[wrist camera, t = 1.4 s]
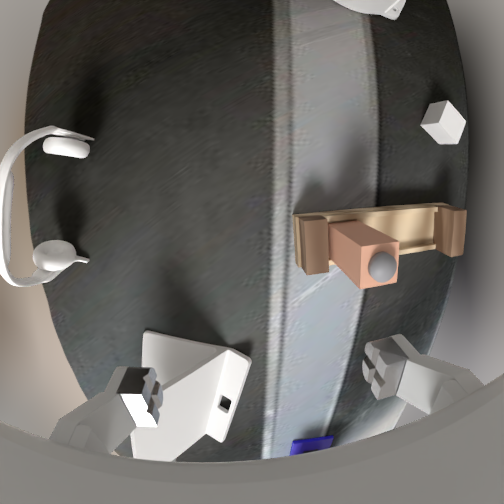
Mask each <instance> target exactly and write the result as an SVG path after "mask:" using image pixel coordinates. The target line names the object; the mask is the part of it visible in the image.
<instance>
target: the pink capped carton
mask: <svg viewBox="0 0 504 504" xmlns="http://www.w3.org/2000/svg"><path fill="white" fill-rule="evenodd" d="M328 247H329V258H330V259H331V260H332V261H333V262H334V263H335V264H336V265H337V266H338V267H339V268H340V269H341V270H342V271H343V272H344V273H345V274H346V275H347V276H348V277H349V278H350V279H351V280H352V282H353V283H354V284H355V285H356V286H357V287H358V288H359V289H364V288H370V287H375V286H380V285H385V284H390V283H395V282H397V272H398V258H399V241H398V240H396V239H394V238H392V237H390V236H388V235H386V234H384V233H382V232H380V231H378V230H376V229H374V228H372V227H370V226H368V225H366V224H364V223H362V222H360V221H358V220H355V221H346V222H336V223H328Z"/></svg>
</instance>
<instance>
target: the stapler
mask: <svg viewBox="0 0 504 504" xmlns="http://www.w3.org/2000/svg"><path fill="white" fill-rule="evenodd" d="M333 439H334V437H333V435H331V436H325V437H319V438H312V439H305V440H297V441H293V443H292V447H291V451H290V456H292V455H298V454H304V453H309V452H314V451H319V450H324V449H328V448H330V446H331V444H332V441H333Z"/></svg>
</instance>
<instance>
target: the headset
mask: <svg viewBox="0 0 504 504" xmlns="http://www.w3.org/2000/svg"><path fill="white" fill-rule="evenodd" d="M48 134H54V135H58V136H62V137H49V138H47V139H46V140H45V141H44V143H43V150H44V151H45V152H46V153H50V154H57V155H64V156H71V157H78V158H85V157H87V156H88V154H89V152H90V146H89V145H88V144H87V143H85V142H83V141H85V140H94V138H91V137H88V136H85V135H81V134H78V133H75V132H71V131H68V130H64V129H60V128H58V127H55V126H48V127H45V128H41V129H38V130H35V131H32V132H30V133H28V134H26V135H24V136H23V137H21V138H20V139H18V140H17V141H16V142H15V143H14V144H13V145H12V146H11V147H10V149H9V150H8V151H7V153H6V155H5V156H4V158H3V160H2V163H1V165H0V274H1V275H2V277H3V278H4V279H5V280H6V281H7V282H8V283H10V284H11V285H14V286H23V287H29V286H34V285H38V284H41V283H46V282H49V281H51V280H52V279H54V278H55V277H56V276H57V275H58V274H59V273H61V272H62V271H63V270H64V269H65V268H67V267H69V266H70V265H71V264H72V263H73V262H76V261H81V262H85V263H87V262H88V261H89V259H88V258H84V257H81V256H77V255H76V251H75V248H74V246H73V245H72V244H70V243H68V242H66V241H62V240H51V241H46V242H44V243H41V244H40V245H38V246H37V247H36V248H35V250H34V252H33V261H34V263H35V265H36V266H37V267H38V269H37V270H36V271H35V272H34V273H33V274H32V277H28V278H15V277H14V276H13V275H12V274H11V273H10V271H9V269H8V264H9V262H10V256H11V209H12V197H13V187H14V176H13V173H12V172H11V168H12V166H13V164H14V162H15V160H16V158H17V156H18V155H19V154H20V153H21V151H22V150H23V149H24V148H25V147H26V146H27V145H29V144H30V143H31V142H33V141H35V140H36V139H38V138H40V137H43V136H45V135H48ZM79 140H83V141H79Z"/></svg>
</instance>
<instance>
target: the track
mask: <svg viewBox="0 0 504 504" xmlns="http://www.w3.org/2000/svg"><path fill="white" fill-rule="evenodd" d="M466 212H467V211H466V210H464V209H460V208H457V207H453V206H450V205H449V204H445V203H426V204H410V205H395V206H382V207H369V208H357V209H346V210H335V211H324V212H314V213H304V214H294V215H292V216H293V230H294V244H295V260H296V264H297V266H298V267H302V269H303V270H304V272H305V273H306V275H312V274H319V273H326V272H329V265H335V263H334V262H333V261H332V260H331V259H330V258H329V247H328V223H336V222H346V221H355V220H358V221H360V222H362V223H364V224H366V225H368V226H370V227H372V228H374V229H376V230H378V231H380V232H382V233H384V234H386V235H388V236H390V237H392V238H394V239H396V240H398V241H399V255H401V254H407V253H413V252H419V251H425V250H431V249H436V250H438V251H440V252H442V253H444V254H446V255H448V256H450V257H453V256H458V255H462V254H463V249H464V239H465V228H466Z"/></svg>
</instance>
